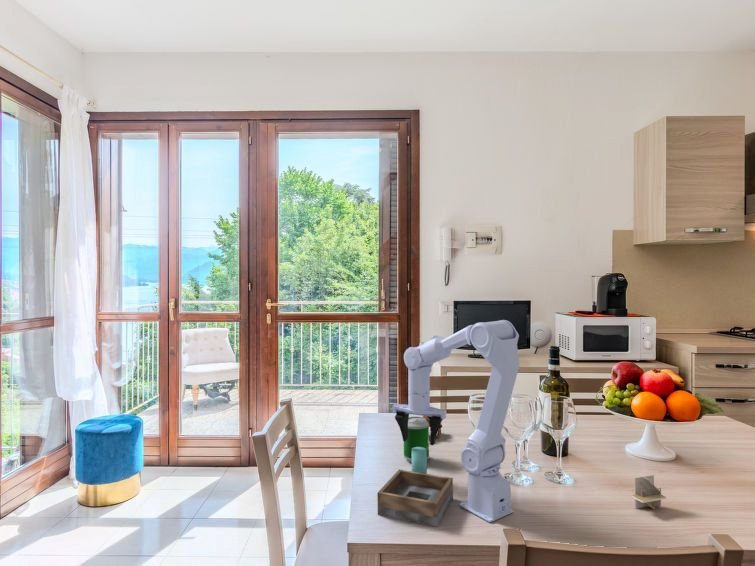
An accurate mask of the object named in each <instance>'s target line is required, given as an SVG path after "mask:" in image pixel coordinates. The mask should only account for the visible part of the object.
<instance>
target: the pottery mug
mask: <svg viewBox="0 0 755 566" xmlns="http://www.w3.org/2000/svg"><path fill="white" fill-rule="evenodd" d="M422 417H423V418H425V419H426V421H427V422H428V424H429V428H430V423H429V420H430V419H431V418H432V417H429V416H422ZM442 428H443V425H442V423H441V424H440V426H439V429H438V432H437V435H436V439H440V437H441V435H442Z"/></svg>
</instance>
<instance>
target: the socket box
mask: <svg viewBox="0 0 755 566" xmlns="http://www.w3.org/2000/svg"><path fill="white" fill-rule="evenodd" d="M453 479H454V478H453V477H448V476H441V475H436V474H428V473H427V474H424V473H418V472H412V470H411V471H410V470H405V469H398V470H397V471H396V472H395V473H394V474H393V475H392V477H390V479H388V481H387V482H386V483H385V484H384V485H383V486H382V487H381V488H380V490H378V492H377V495H376V496H377V515H378V516H384V517H388V518H391V519H392V518H393V519H398V520H403V521H407V522H412V523H417V524H422V525H427V526H431V527H436V528H437V527H438V525H439V524H440V522H441V520H442V519H443V517H444V515H445V514H446V512H447V510H448V508H449V506H450V504H451V503H452V501H453V499H454V480H453Z"/></svg>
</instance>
